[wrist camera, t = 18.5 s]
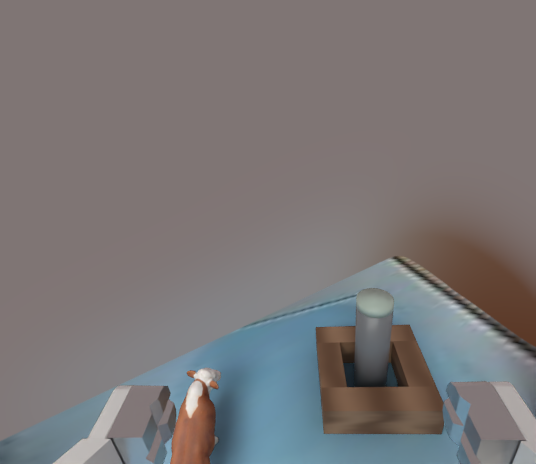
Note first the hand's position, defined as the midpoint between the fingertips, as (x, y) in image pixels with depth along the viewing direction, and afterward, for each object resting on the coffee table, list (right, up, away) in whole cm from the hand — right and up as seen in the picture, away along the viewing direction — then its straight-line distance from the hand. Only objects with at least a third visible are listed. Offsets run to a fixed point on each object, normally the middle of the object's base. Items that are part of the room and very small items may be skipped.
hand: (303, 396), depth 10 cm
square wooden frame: (+12, -15, +34) cm, 39 cm away
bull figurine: (-8, -21, +28) cm, 36 cm away
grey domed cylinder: (+12, -15, +34) cm, 39 cm away
